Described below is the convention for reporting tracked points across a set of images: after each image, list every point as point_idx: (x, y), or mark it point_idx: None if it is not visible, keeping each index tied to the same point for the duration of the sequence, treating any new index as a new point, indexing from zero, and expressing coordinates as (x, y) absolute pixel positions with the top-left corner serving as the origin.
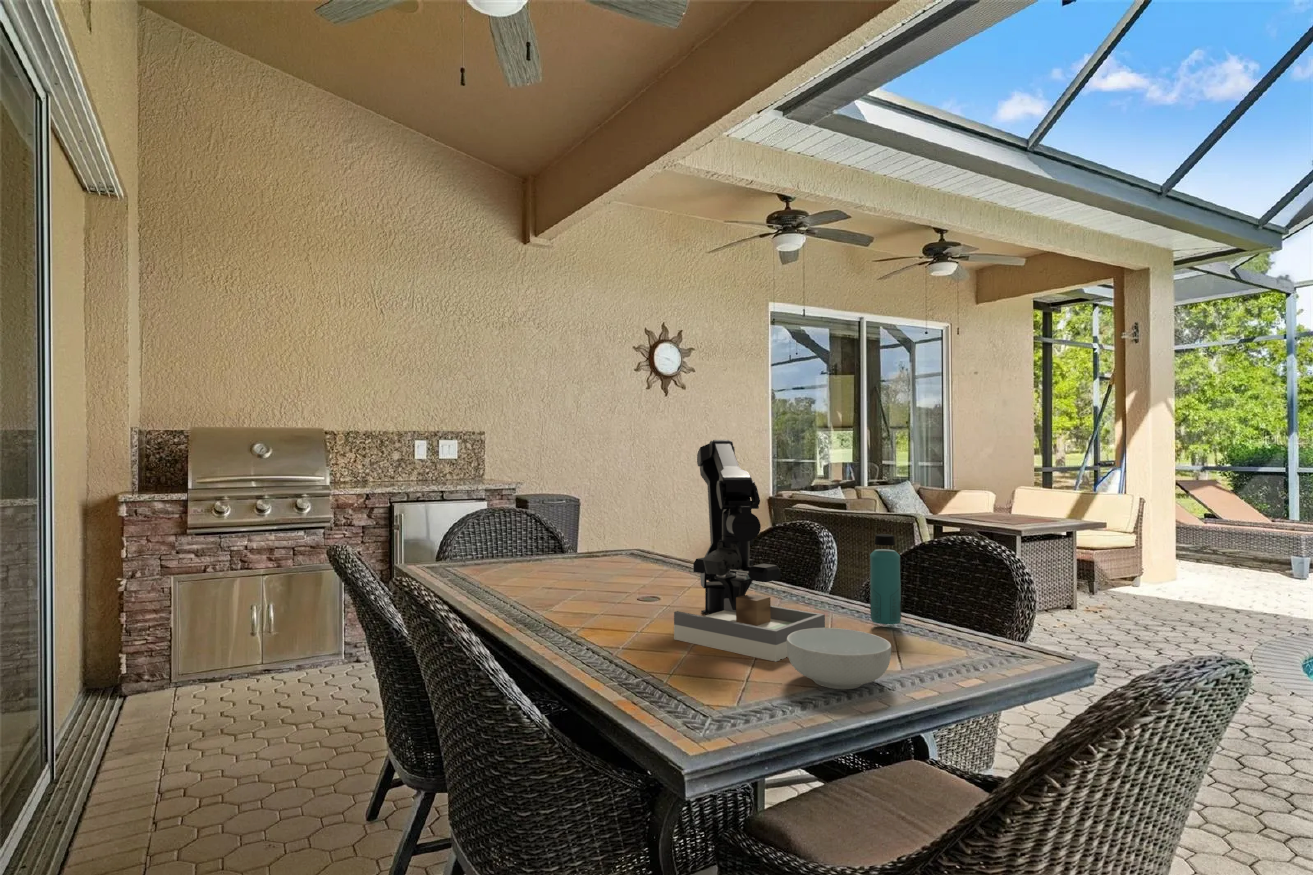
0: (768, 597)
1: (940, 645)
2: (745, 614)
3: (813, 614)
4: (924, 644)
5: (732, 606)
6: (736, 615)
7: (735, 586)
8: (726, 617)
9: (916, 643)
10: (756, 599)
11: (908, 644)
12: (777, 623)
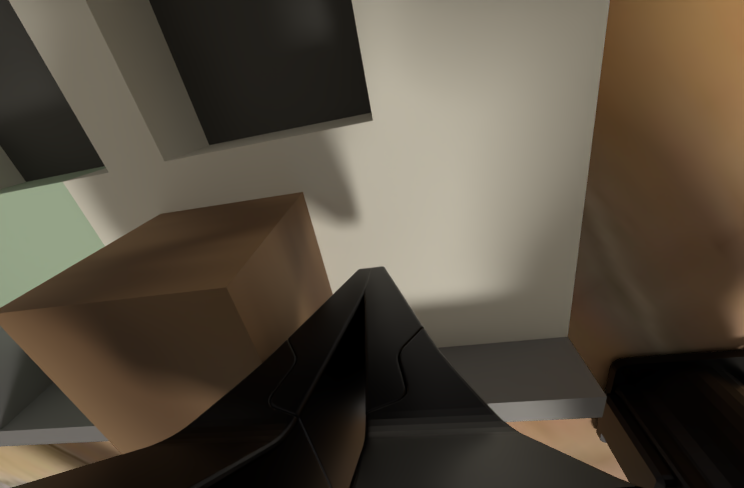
0: (114, 445)
1: (8, 474)
2: (202, 227)
3: (19, 426)
4: (22, 464)
5: (377, 276)
6: (287, 208)
7: (238, 435)
8: (433, 229)
9: (34, 462)
10: (55, 350)
11: (28, 449)
12: None
